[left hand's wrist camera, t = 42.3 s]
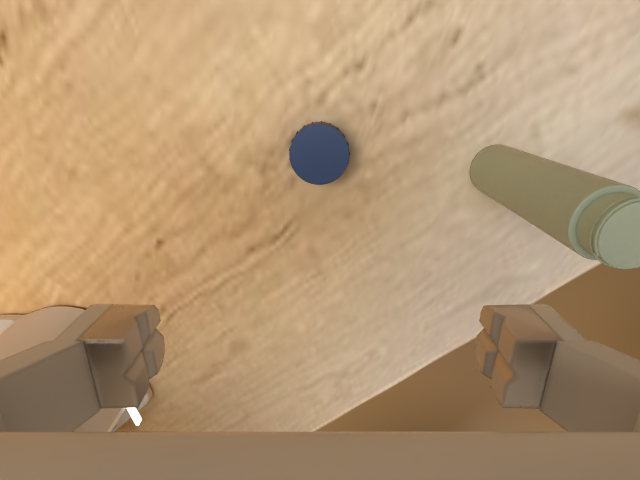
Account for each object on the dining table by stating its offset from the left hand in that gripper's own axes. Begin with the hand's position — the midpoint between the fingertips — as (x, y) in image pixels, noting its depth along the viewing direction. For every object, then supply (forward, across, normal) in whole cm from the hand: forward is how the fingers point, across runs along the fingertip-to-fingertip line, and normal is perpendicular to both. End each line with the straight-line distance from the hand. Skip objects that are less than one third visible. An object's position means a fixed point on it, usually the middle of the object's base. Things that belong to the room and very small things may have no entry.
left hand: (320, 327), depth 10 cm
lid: (+27, 0, 0) cm, 27 cm away
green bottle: (+29, +17, -2) cm, 34 cm away
